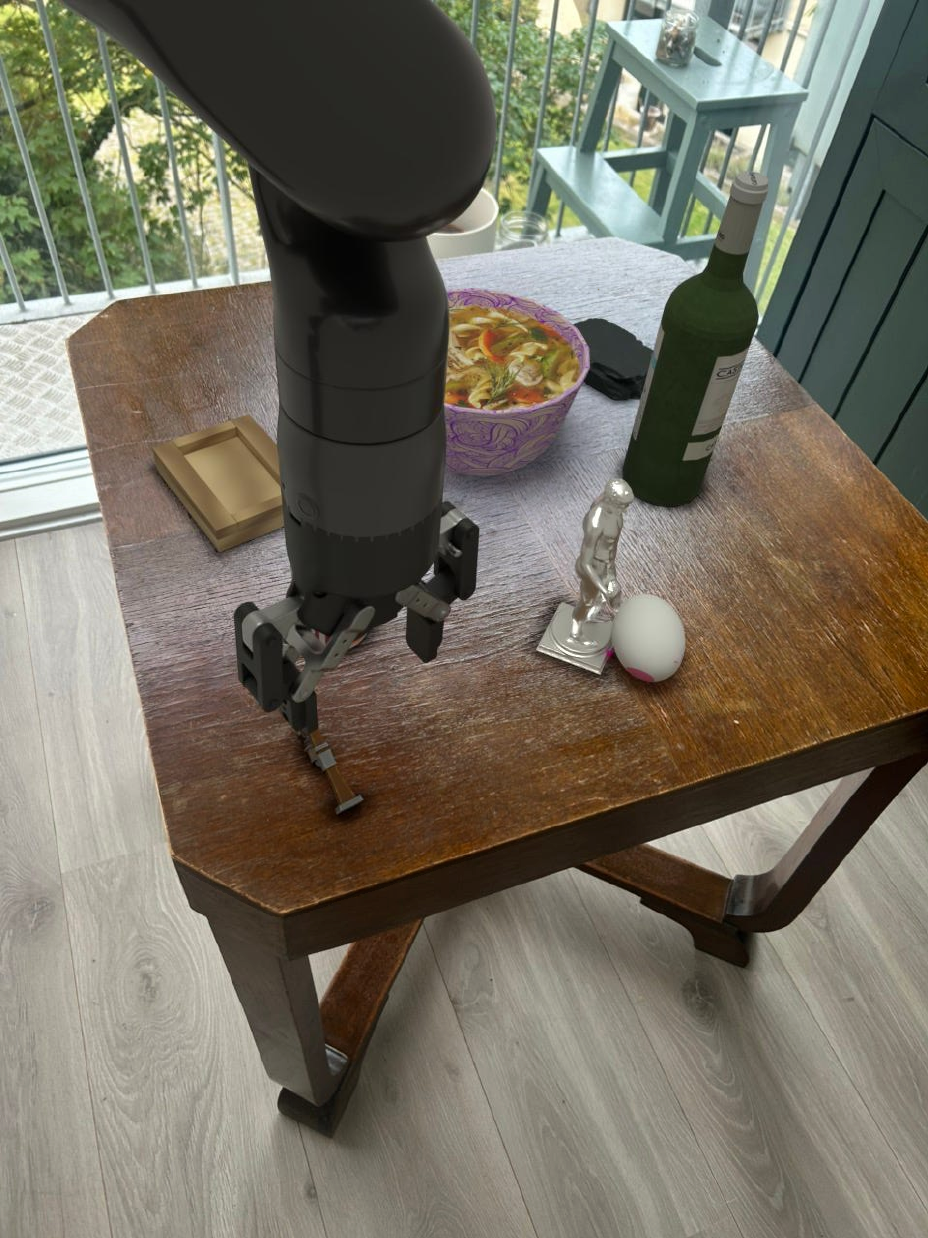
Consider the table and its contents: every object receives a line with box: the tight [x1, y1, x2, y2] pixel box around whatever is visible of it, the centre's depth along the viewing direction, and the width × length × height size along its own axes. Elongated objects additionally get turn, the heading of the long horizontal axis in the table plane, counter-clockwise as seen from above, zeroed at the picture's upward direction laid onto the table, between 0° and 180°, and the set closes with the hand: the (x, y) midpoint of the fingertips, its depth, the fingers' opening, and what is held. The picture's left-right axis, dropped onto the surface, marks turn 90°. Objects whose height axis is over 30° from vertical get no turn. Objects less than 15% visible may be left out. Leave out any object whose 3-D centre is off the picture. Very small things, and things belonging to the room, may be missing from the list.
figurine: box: [535, 477, 635, 676], centre depth 73 cm, size 8×7×18 cm
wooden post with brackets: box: [296, 724, 364, 815], centre depth 69 cm, size 2×8×4 cm, turn 33°
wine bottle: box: [621, 170, 770, 507], centre depth 83 cm, size 8×8×30 cm
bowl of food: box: [444, 287, 590, 477], centre depth 92 cm, size 20×20×12 cm
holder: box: [151, 413, 284, 553], centre depth 88 cm, size 10×13×3 cm
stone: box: [572, 317, 654, 401], centre depth 105 cm, size 8×12×3 cm
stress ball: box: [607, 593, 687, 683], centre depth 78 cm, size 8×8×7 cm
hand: (363, 686), depth 56 cm, fingers open, 8 cm apart
